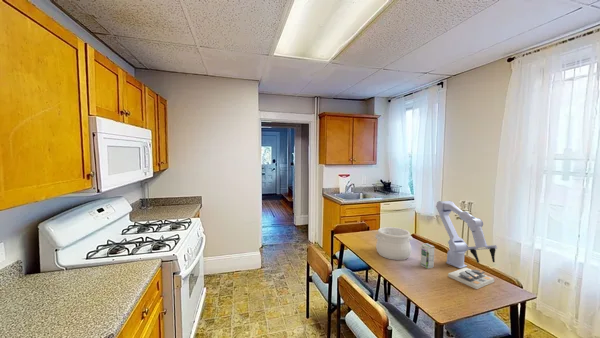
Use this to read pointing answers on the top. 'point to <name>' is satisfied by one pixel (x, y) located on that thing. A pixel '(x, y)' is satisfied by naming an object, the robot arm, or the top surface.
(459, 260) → the robot arm
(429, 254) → the syrup box
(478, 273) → the rocker
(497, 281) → the top surface
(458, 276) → the switch panel
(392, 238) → the pot
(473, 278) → the rocker
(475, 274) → the rocker
